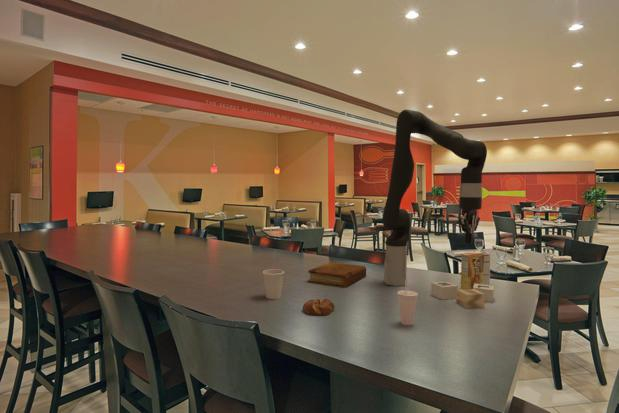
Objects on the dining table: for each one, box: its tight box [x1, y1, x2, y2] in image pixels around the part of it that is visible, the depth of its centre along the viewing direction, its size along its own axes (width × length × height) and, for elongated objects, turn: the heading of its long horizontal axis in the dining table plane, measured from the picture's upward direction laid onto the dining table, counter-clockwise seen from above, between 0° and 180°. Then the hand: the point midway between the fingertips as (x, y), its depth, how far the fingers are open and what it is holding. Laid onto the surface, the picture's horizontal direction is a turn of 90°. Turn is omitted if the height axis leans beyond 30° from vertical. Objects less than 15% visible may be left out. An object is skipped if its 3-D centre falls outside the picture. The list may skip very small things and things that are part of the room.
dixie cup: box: [262, 268, 285, 300], centre depth 148 cm, size 8×8×10 cm
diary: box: [307, 261, 367, 289], centre depth 177 cm, size 23×19×6 cm
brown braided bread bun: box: [302, 298, 335, 316], centre depth 133 cm, size 12×11×4 cm
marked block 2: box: [473, 283, 495, 304], centre depth 148 cm, size 7×7×5 cm
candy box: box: [460, 252, 484, 289], centre depth 160 cm, size 9×4×15 cm, turn 116°
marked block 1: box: [430, 281, 459, 301], centre depth 151 cm, size 7×7×5 cm
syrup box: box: [473, 250, 491, 285], centre depth 169 cm, size 6×6×14 cm
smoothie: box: [397, 278, 419, 326], centre depth 121 cm, size 6×6×14 cm
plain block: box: [455, 288, 486, 309], centre depth 140 cm, size 7×7×5 cm
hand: (468, 243), depth 139 cm, fingers closed
